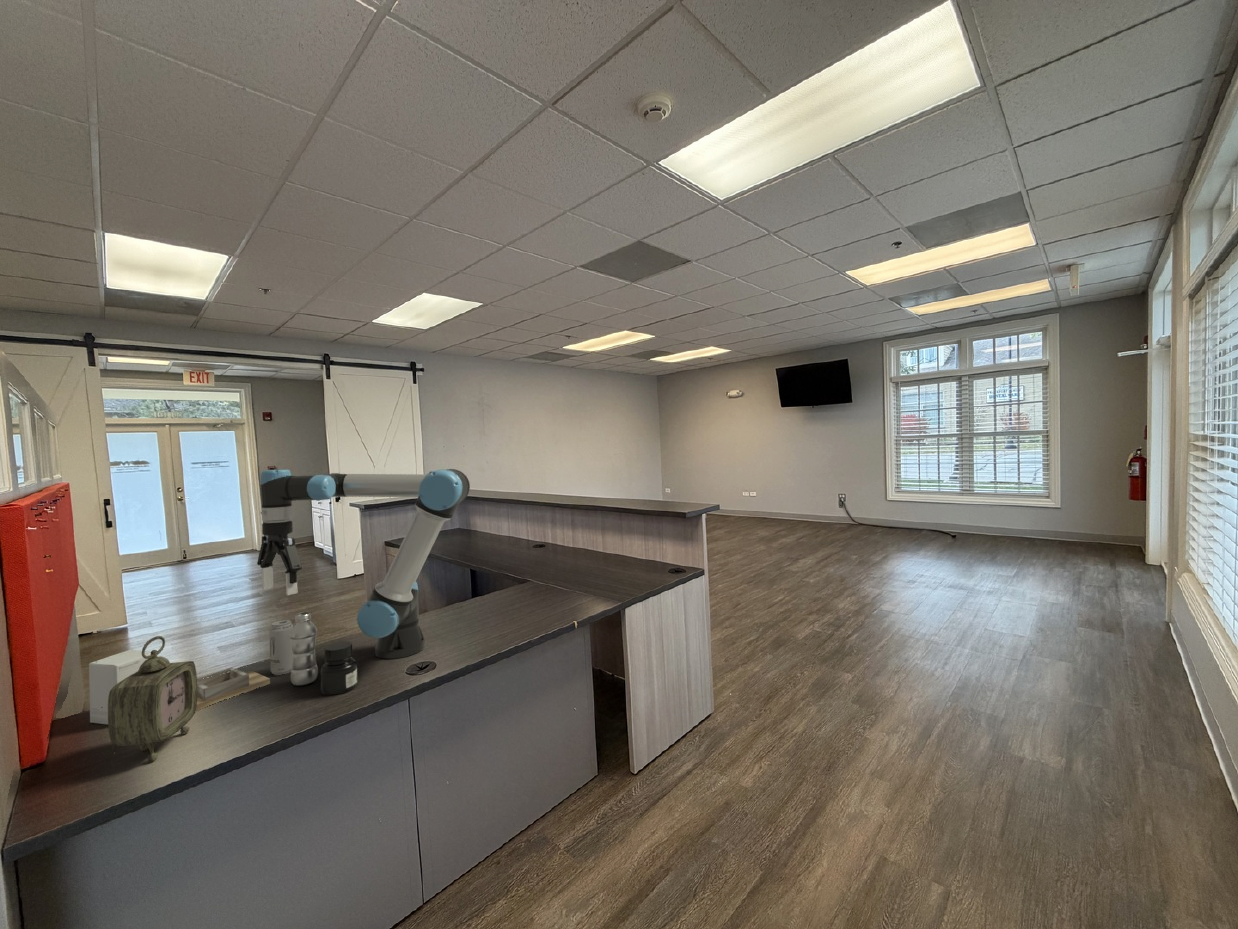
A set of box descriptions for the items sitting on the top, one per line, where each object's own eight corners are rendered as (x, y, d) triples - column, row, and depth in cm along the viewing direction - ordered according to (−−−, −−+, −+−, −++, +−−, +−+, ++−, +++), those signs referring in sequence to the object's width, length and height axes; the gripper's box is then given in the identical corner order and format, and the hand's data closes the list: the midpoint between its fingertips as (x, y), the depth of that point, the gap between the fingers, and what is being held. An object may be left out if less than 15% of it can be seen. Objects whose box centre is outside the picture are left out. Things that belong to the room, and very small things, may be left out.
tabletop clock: (156, 765, 105) (152, 648, 105) (105, 772, 103) (100, 652, 103) (198, 728, 119) (195, 625, 119) (154, 733, 117) (150, 628, 117)
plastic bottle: (287, 683, 142) (285, 614, 142) (314, 675, 147) (312, 608, 147) (294, 691, 138) (292, 619, 138) (321, 682, 143) (319, 613, 143)
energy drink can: (267, 673, 150) (265, 623, 149) (289, 665, 155) (287, 618, 154) (275, 678, 146) (274, 627, 146) (298, 670, 151) (296, 621, 151)
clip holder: (270, 683, 143) (269, 668, 143) (182, 716, 125) (181, 698, 125) (251, 675, 148) (250, 660, 148) (164, 705, 131) (163, 688, 131)
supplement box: (117, 727, 121) (115, 665, 120) (88, 723, 122) (86, 663, 122) (158, 708, 130) (156, 651, 129) (131, 705, 131) (129, 649, 131)
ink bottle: (357, 691, 137) (356, 648, 137) (320, 699, 133) (319, 655, 133) (356, 677, 146) (355, 637, 145) (321, 685, 141) (320, 643, 141)
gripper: (242, 520, 152) (245, 589, 153) (286, 524, 140) (288, 599, 140) (269, 517, 159) (271, 583, 159) (313, 521, 146) (316, 593, 147)
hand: (279, 591), depth 150 cm, fingers open, 13 cm apart
